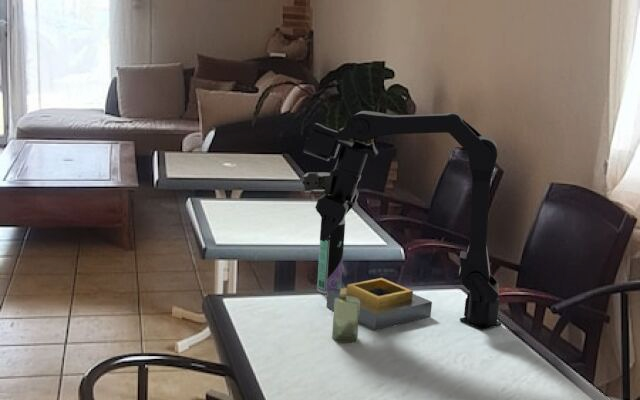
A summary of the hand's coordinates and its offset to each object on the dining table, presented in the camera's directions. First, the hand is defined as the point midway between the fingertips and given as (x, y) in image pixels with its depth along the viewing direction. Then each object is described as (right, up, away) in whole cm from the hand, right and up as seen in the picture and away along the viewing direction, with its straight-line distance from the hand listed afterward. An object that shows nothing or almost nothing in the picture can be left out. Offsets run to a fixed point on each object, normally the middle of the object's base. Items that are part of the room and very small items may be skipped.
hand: (326, 235), depth 176 cm
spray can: (+1, -14, +12) cm, 18 cm away
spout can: (+4, -20, -16) cm, 26 cm away
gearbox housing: (+11, -17, 0) cm, 20 cm away
